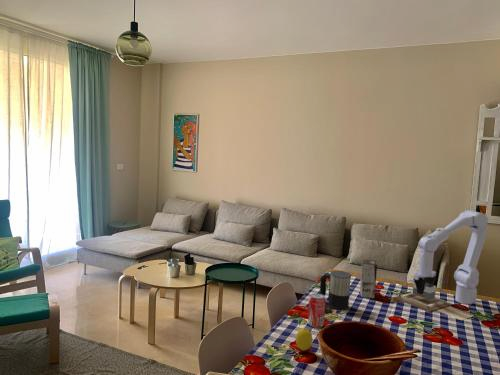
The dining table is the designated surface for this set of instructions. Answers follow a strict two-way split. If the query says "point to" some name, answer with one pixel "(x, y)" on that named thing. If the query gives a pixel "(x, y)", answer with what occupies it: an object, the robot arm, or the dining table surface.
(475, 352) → the dining table surface
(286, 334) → the dining table surface
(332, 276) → the milk frother
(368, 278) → the coffee box
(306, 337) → the lemon
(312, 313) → the soda can
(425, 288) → the housing
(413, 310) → the dining table surface
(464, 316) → the stand
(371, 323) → the dining table surface
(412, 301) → the square wooden tray
